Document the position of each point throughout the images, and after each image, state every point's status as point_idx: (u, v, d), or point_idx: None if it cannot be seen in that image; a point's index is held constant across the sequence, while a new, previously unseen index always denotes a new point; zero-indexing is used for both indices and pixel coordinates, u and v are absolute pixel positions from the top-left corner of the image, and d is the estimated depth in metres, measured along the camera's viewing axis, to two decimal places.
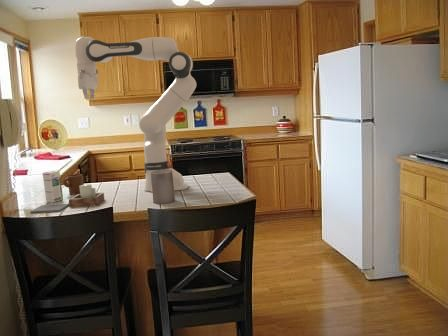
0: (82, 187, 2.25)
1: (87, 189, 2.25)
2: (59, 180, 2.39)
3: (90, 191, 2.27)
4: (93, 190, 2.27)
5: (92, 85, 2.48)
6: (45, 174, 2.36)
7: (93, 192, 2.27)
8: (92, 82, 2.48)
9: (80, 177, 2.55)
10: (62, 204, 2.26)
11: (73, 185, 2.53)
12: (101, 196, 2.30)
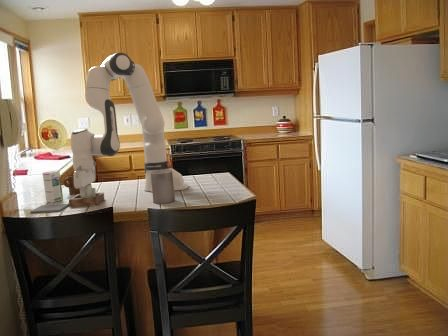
0: None
1: (87, 189, 2.25)
2: (59, 180, 2.39)
3: (90, 191, 2.27)
4: (93, 190, 2.27)
5: (89, 180, 2.28)
6: (45, 174, 2.36)
7: (93, 192, 2.27)
8: (89, 176, 2.28)
9: None
10: (62, 204, 2.26)
11: (73, 185, 2.53)
12: (101, 196, 2.30)
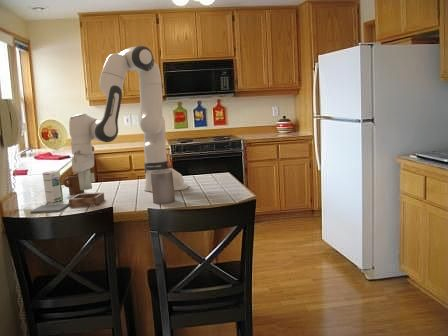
0: None
1: (85, 174, 2.24)
2: (59, 180, 2.39)
3: (89, 176, 2.26)
4: (92, 175, 2.26)
5: (88, 165, 2.27)
6: (45, 174, 2.36)
7: (92, 177, 2.26)
8: (87, 161, 2.27)
9: None
10: (62, 204, 2.26)
11: (73, 185, 2.53)
12: (101, 196, 2.30)
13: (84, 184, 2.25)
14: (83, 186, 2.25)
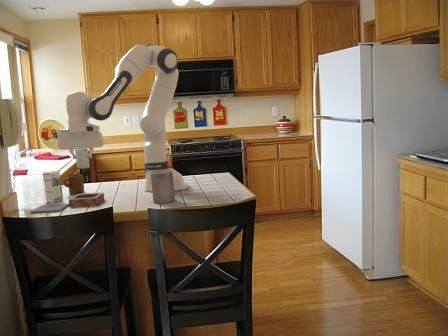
0: None
1: None
2: (59, 180, 2.39)
3: (78, 156, 2.23)
4: (77, 155, 2.22)
5: (81, 145, 2.23)
6: (45, 174, 2.36)
7: None
8: (81, 141, 2.23)
9: (80, 177, 2.55)
10: (62, 204, 2.26)
11: (73, 185, 2.53)
12: (101, 196, 2.30)
13: None
14: None
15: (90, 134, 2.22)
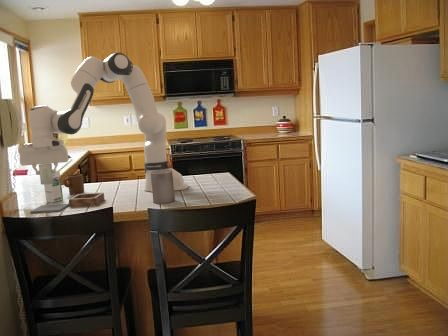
0: None
1: (39, 169, 2.17)
2: (59, 180, 2.39)
3: (42, 171, 2.16)
4: (42, 171, 2.15)
5: (45, 160, 2.16)
6: None
7: None
8: (46, 156, 2.16)
9: (80, 177, 2.55)
10: (62, 204, 2.26)
11: (73, 185, 2.53)
12: (101, 196, 2.30)
13: (40, 178, 2.18)
14: None
15: (56, 149, 2.16)
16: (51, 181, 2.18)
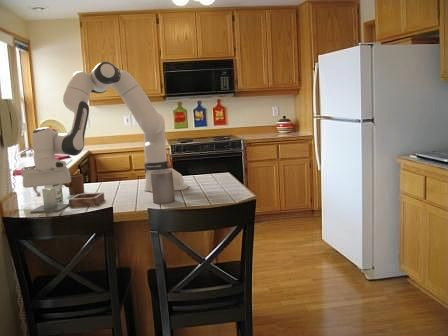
0: None
1: (43, 193, 2.18)
2: None
3: (46, 196, 2.17)
4: (47, 195, 2.16)
5: (49, 181, 2.18)
6: None
7: (47, 197, 2.17)
8: (49, 177, 2.18)
9: (80, 177, 2.55)
10: (62, 204, 2.26)
11: (73, 185, 2.53)
12: (101, 196, 2.30)
13: None
14: None
15: (59, 170, 2.18)
16: (55, 205, 2.20)
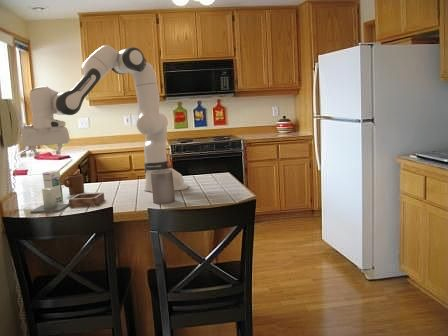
0: None
1: (43, 193, 2.18)
2: (59, 180, 2.39)
3: (46, 196, 2.17)
4: (47, 195, 2.16)
5: (46, 141, 2.16)
6: (45, 174, 2.36)
7: (47, 197, 2.17)
8: (46, 137, 2.16)
9: (80, 177, 2.55)
10: (62, 204, 2.26)
11: (73, 185, 2.53)
12: (101, 196, 2.30)
13: None
14: None
15: (55, 130, 2.15)
16: (55, 205, 2.20)
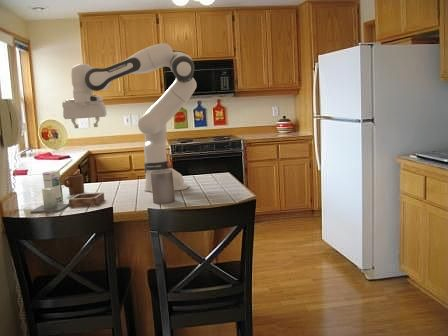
0: None
1: (43, 193, 2.18)
2: (59, 180, 2.39)
3: (46, 196, 2.17)
4: (47, 195, 2.16)
5: (85, 114, 2.35)
6: (45, 174, 2.36)
7: (47, 197, 2.17)
8: (85, 110, 2.35)
9: (80, 177, 2.55)
10: (62, 204, 2.26)
11: (73, 185, 2.53)
12: (101, 196, 2.30)
13: None
14: None
15: (94, 104, 2.34)
16: (55, 205, 2.20)
